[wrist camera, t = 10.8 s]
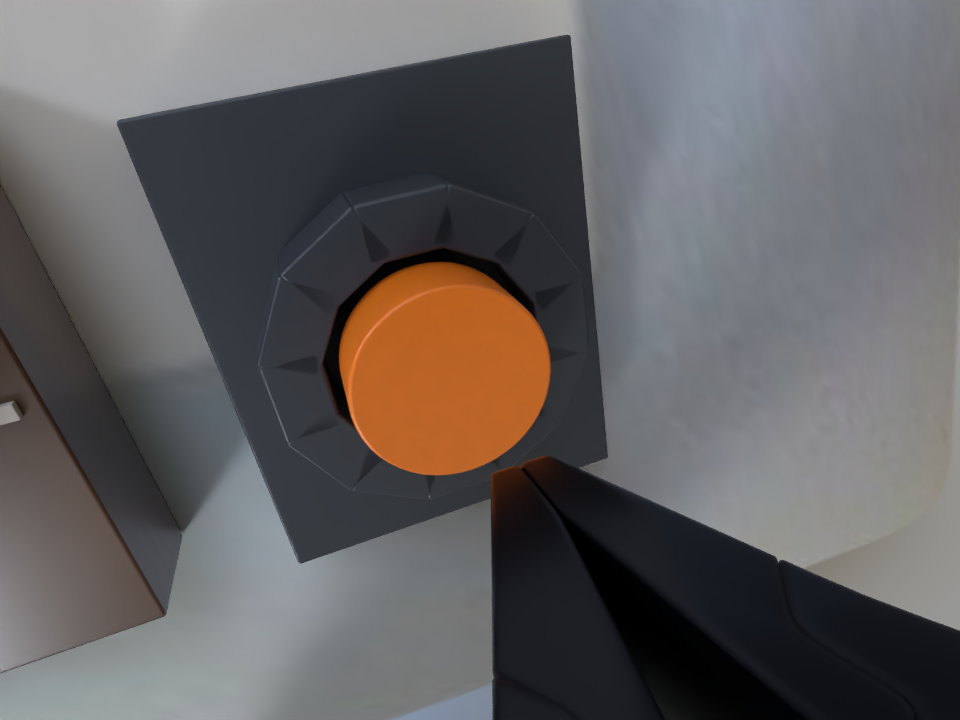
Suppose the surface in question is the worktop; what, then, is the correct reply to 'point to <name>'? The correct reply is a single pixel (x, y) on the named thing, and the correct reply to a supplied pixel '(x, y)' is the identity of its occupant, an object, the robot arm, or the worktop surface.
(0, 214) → the panel
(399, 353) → the button
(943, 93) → the worktop surface
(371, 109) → the housing
